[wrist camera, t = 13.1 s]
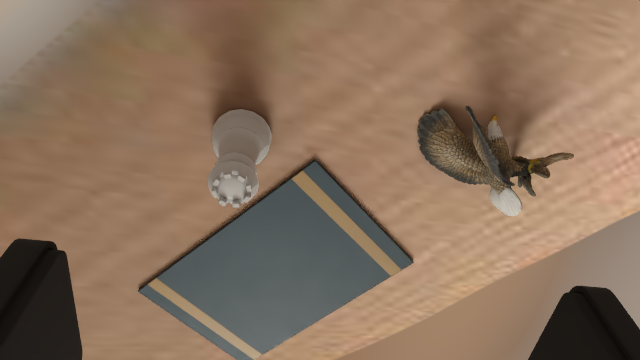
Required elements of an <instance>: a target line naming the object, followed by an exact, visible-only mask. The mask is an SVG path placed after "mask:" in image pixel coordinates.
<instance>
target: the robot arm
mask: <svg viewBox="0 0 640 360" xmlns="http://www.w3.org/2000/svg"><path fill="white" fill-rule="evenodd" d="M0 360H82V345H81V339H80V333H79V327H78V321H77V315H76V309H75V303H74V297H73V291H72V285H71V279H70V273H69V267H68V261H67V256H66V253H65V251H61V250H57V247H56V244H55V243H54V242H51V241H41V240H29V239H17V240H15V241H14V242H13V243H12V244H11V245H10V246H9V247H8V249H7V250H6V251H5V253H4V254H3V255H2V256H1V258H0ZM528 360H640V329H639V328H638V326H637V325H636V324H635V322H634V321H633V319H632V318H631V317H630V315H629V314H628V313H627V311H626V310H625V309H624V307H623V306H622V304H621V303H620V302H619V300H618V299H617V298H616V296H615V295H614V294H613V293H612V292H611V291H610V290H609V289H607V288H599V287H587V286H575V287H574V288H572V289H571V290H570V292H569V293H565V294H564V295H563V296H562V297H561V299H560V301H559V303H558V305H557V306H556V309H555V310H554V312H553V314H552V316H551V318H550V319H549V321H548V323H547V325H546V327H545V329H544V331H543V333H542V334H541V336H540V338H539V340H538V342H537V344H536V346H535V348H534V349H533V351H532V353H531V355H530V357H529V359H528Z"/></svg>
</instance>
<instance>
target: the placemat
mask: <svg viewBox="0 0 640 360" xmlns="http://www.w3.org/2000/svg"><path fill="white" fill-rule="evenodd" d="M412 263H414V262H413V260H412V259H411V258H410V257H409V256H408V255H407V254H406V253H405V252H404V251H403V250H402V249H401V248H400V247H399V246H398V245H397V244H396V243H395V242H394V240H393V239H392V238H391V237H390V236H389V235H388V234H387V233H386V232H385V231H384V230H383V229H382V228H381V227H380V226H379V225H378V224H377V223H376V222H375V221H374V220H373V219H372V218H371V217H370V216H369V215H368V214H367V212H366V211H365V210H364V209H363V208H362V207H361V206H360V205H359V204H358V203H357V202H356V201H355V200H354V199H353V198H352V197H351V196H350V195H349V194H348V193H347V192H346V191H345V190H344V189H343V188H342V187H341V186H340V185H339V183H338V182H337V181H336V180H335V179H334V178H333V177H332V176H331V175H330V174H329V173H328V172H327V171H326V170H325V169H324V168H323V167H322V166H321V165H320V164H319V163H318V162H317V161H316V160H313V161H312V162H311V163H309V164H308V165H307V166H305V167H304V168H303V169H301V170H300V171H299V172H297V173H296V174H294V175H293V176H292V177H290V178H289V179H288V180H286V181H285V182H284V183H282V184H281V185H280V186H278V187H277V188H275V189H274V190H273V191H271V192H270V193H269V194H267V195H266V196H265V197H263V198H262V199H261V200H259V201H258V202H256V203H255V204H254V205H252V206H251V207H250V208H248V209H247V210H246V211H244V212H243V213H242V214H240V215H239V216H237V217H236V218H235V219H233V220H232V221H231V222H229V223H228V224H227V225H225V226H224V227H223V228H221V229H220V230H218V231H217V232H216V233H214V234H213V235H212V236H210V237H209V238H208V239H206V240H205V241H204V242H202V243H201V244H199V245H198V246H197V247H195V248H194V249H193V250H191V251H190V252H189V253H187V254H186V255H185V256H183V257H182V258H180V259H179V260H178V261H176V262H175V263H174V264H172V265H171V266H170V267H168V268H167V269H166V270H164V271H163V272H161V273H160V274H159V275H157V276H156V277H155V278H153V279H152V280H151V281H149V282H148V283H147V284H145V285H144V286H142V287H141V288H140V289H139V290H138V292H140V293H141V294H142V295H144V296H145V297H147V298H148V299H150V300H151V301H153V302H154V303H155V304H157V305H158V306H160V307H161V308H163V309H164V310H166V311H167V312H168V313H170V314H171V315H173V316H174V317H176V318H177V319H179V320H180V321H182V322H183V323H184V324H186V325H187V326H189V327H190V328H192V329H193V330H195V331H196V332H197V333H199V334H200V335H202V336H203V337H205V338H206V339H208V340H209V341H210V342H212V343H213V344H215V345H216V346H218V347H219V348H221V349H222V350H223V351H225V352H226V353H228V354H229V355H231V356H232V357H234V358H235V359H236V360H255V359H256V358H258V357H260V356H261V355H263V354H264V353H266V352H268V351H269V350H271V349H273V348H274V347H276V346H277V345H279V344H281V343H282V342H284V341H286V340H287V339H289V338H291V337H292V336H294V335H296V334H297V333H299V332H300V331H302V330H304V329H305V328H307V327H309V326H310V325H312V324H314V323H315V322H317V321H319V320H320V319H322V318H324V317H325V316H327V315H328V314H330V313H332V312H333V311H335V310H337V309H338V308H340V307H342V306H343V305H345V304H347V303H348V302H350V301H351V300H353V299H355V298H356V297H358V296H360V295H361V294H363V293H365V292H366V291H368V290H370V289H371V288H373V287H375V286H376V285H378V284H379V283H381V282H383V281H384V280H386V279H388V278H389V277H391V276H393V275H395V274H396V273H398V272H399V271H401V270H402V269H404V268H406V267H407V266H409V265H411V264H412Z"/></svg>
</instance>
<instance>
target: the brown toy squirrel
mask: <svg viewBox="0 0 640 360" xmlns="http://www.w3.org/2000/svg"><path fill="white" fill-rule="evenodd" d="M465 108H466V111H467V112H468V114H469V115H470V118H471V120H472V122H473V142H472V141H471V140H470V139H469V138H467V137H466V136H465V135H464V134H463V133H462V132H461V131H460V130H459V129H458V128H457V126H456V124H455V123H454V121H453V120H452V119H451V117H450V115H449V114H448V113H447V112H446V111H445V110H444V109H441V110H440V111H435V110H433V111H432V112H431V114H425V115H423V119H421V120H419V125H420V128H419V129H418V130H417V133H418V135H419V136H420V137H421V139H418V143H419V144H420V145H421V146H420V150H421V152H422V154H423V155H424V156H425V159H426V160H428V161H429V162H430V164H431V165H434V166H435V167H436V168H438V169H439V170H440V171H444V173H445V174H448V175H449V176H450V177H454V179H456V180H458V181H461V182H463V183H468V184H474V185H476V184H483V183H484V184H489V185H490V186H491V191H490V195H489V198H490V201H491V202H492V204H493V205H495V206H496V207H497V208H498V209H499V210H500V211H501V212H502V213H504V214H506V215H507V216H516V215H517V214H518V213H520V211H521V210H522V203H521V201H520V199H519V197H518V196H517V194H516V193H515V192H514V191H513V190H512V189H511V186H514V185H515V184H514V183H512V182H511V181H510V177H514V176H518V186H519V187H521V186H522V184H523V187H524V188H526V190H527V191H528V193H529V194H530V195H531V196H536V194H535V192H534V191H533V189H532V186H531V175H530V174H532V173H535V174H537V175H539V176H541V177H544V178H549V177H550V172H549V170H548V169H547V168H546V166H548V165H550V164H552V163H554V162H557V161H560V160H568V159H571V158H573V157H574V155H573V154H571V153H557V154H553V155H550V156H548V157H546V158H538V159H533V160H532V159H530V160H529V159H526V158H523V157H521V156H519V157H518V156H516V157H513V158H511V157H510V156H509V149H508V146H507V143H506V141H505V139H504V137H503V135H502V132H501V129H500V126H499V124H498V122H497V116H493V118H492V120H491V122H490V123H489V125H488V129H487V130H488V137H487V135H486V133H485V131H484V129H483V128H482V126H481V125H480V124H479V123H478V122H477V120H476V117H475V115H474V113H473V111H472V109H471V108H470V107H469V106H466V107H465Z"/></svg>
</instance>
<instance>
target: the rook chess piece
mask: <svg viewBox="0 0 640 360" xmlns="http://www.w3.org/2000/svg"><path fill="white" fill-rule="evenodd" d="M271 139H272V135H271V131H270V127H269V125H268V124H267V123H266V121H265V120H264V119H263V118H262V117H261V116H259V115H258V114H256V113H254V112H253V111H248V110H243V109H239V110H232V111H228V112H227V113H225V114H223V115H222V116H220V117H219V118H218V120H217V121H216V123H215V124H214V126H213V132H212V140H211V142H212V145H213V149H214V152H215V154H216V155H217V156H218V158H219V159H218V160H217V162H216V163H215V167H214V168H213V169H212V170H211V172H210V173H209V175H208V182H207V183H208V186H209V189H210V191H211V193H212V195H213V197H216V198H217V199H219V201H218V203H219V204H221V205H223V206H225V205H226V203H231V204H232V206H233V208H235V207H240V205H241V203H244V202H245V203H247V202H248V201H249V200H250V199H252V198H253V196H254V195H255V194H256V193H257V190H258V186H259V181H258V177H257V175H256V173H257V170H256V166H255V165H257V164H258V163H260V162H261V161H262V160H263V159H264V157H265V156H266V155H267V153H268V152H269V147H270V143H271Z"/></svg>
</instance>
